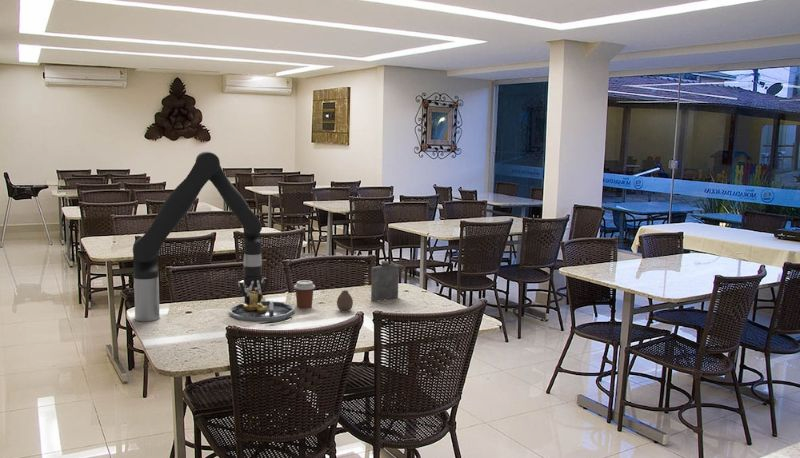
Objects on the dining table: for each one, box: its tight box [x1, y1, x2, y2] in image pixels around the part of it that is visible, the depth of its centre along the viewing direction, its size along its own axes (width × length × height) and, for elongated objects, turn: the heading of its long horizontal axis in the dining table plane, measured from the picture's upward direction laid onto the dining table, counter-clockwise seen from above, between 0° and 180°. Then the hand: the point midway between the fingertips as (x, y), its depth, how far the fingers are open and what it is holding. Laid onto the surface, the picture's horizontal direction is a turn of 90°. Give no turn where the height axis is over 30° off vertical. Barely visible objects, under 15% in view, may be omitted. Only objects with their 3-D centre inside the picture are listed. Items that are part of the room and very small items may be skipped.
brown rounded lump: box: [336, 289, 354, 312], centre depth 283 cm, size 7×7×9 cm
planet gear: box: [243, 292, 263, 310], centre depth 278 cm, size 8×8×6 cm
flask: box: [370, 260, 400, 302], centre depth 304 cm, size 4×14×18 cm, turn 124°
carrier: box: [229, 300, 295, 325], centre depth 273 cm, size 26×26×7 cm
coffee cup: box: [293, 279, 316, 309], centre depth 284 cm, size 9×9×12 cm
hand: (252, 303), depth 278 cm, fingers closed on planet gear, 4 cm apart
